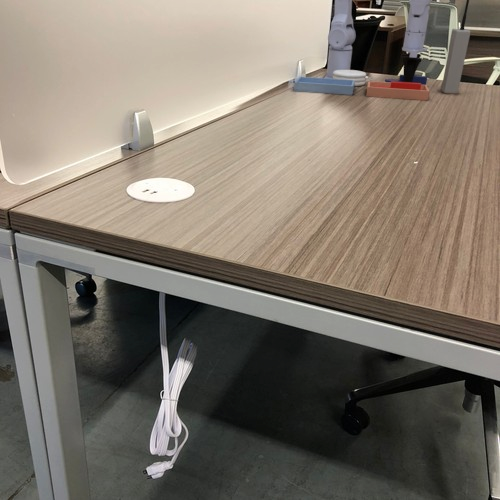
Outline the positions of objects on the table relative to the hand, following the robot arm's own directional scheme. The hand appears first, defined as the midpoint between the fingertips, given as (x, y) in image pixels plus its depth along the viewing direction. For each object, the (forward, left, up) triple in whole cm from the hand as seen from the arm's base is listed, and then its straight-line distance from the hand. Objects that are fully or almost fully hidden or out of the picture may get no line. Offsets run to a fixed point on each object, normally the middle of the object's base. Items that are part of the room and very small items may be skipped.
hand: (407, 80), depth 154 cm
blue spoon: (0, 0, -2) cm, 2 cm away
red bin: (+17, -4, -2) cm, 17 cm away
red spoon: (+17, -3, -1) cm, 17 cm away
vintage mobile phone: (+7, +12, -2) cm, 14 cm away
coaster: (+4, -18, -2) cm, 18 cm away
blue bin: (+17, -24, -2) cm, 29 cm away
